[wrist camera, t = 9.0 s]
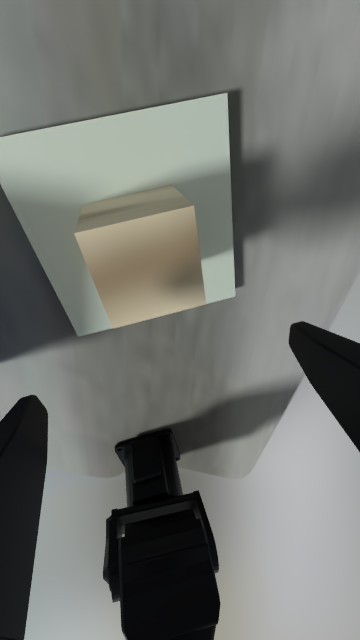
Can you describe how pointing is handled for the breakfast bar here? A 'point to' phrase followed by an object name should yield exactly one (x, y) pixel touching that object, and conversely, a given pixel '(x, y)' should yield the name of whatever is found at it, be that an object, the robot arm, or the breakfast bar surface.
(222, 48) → the breakfast bar surface
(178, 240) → the maple block
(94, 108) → the breakfast bar surface
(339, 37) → the breakfast bar surface
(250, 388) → the breakfast bar surface
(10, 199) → the sage pad
